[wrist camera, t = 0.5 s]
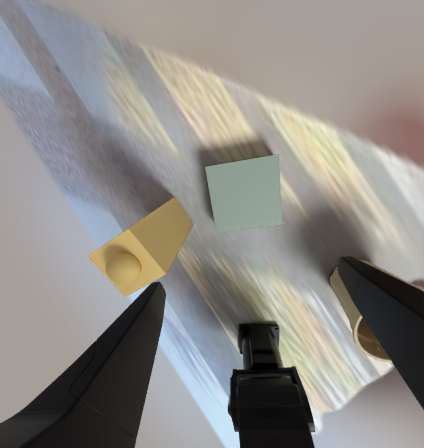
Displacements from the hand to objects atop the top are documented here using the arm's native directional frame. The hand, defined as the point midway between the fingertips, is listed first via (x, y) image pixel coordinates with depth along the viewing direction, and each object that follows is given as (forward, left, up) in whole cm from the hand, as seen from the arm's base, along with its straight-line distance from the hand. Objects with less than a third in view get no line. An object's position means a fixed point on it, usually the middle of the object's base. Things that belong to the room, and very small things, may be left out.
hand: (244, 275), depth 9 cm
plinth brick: (+1, -1, -16) cm, 16 cm away
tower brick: (-2, +9, -16) cm, 18 cm away
